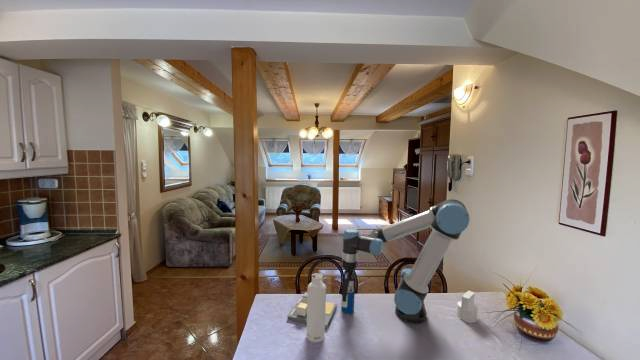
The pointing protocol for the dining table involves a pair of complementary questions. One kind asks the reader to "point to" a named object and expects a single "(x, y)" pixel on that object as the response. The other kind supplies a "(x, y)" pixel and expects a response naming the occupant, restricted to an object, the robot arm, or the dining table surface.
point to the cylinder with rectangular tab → (467, 308)
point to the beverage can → (349, 302)
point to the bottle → (316, 309)
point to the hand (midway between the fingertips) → (347, 299)
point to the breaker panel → (294, 317)
